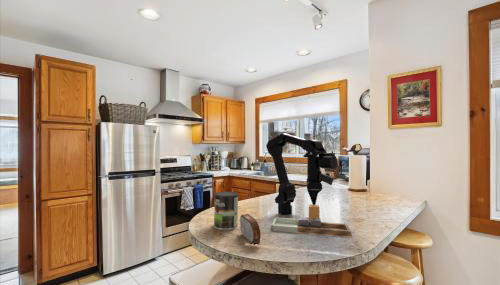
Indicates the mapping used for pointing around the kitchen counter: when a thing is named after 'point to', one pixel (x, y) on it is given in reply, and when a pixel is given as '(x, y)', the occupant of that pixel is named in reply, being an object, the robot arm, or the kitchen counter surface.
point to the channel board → (327, 229)
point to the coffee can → (226, 210)
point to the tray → (285, 225)
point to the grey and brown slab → (250, 228)
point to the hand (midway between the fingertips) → (313, 202)
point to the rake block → (313, 211)
